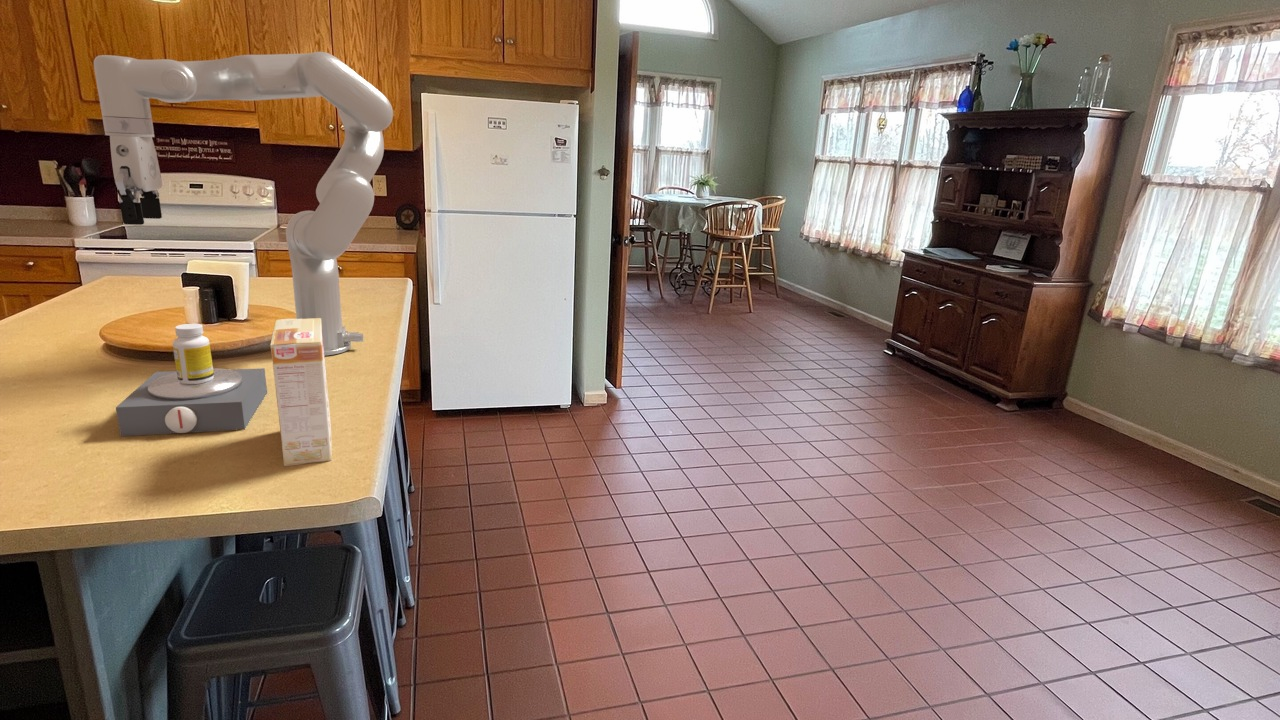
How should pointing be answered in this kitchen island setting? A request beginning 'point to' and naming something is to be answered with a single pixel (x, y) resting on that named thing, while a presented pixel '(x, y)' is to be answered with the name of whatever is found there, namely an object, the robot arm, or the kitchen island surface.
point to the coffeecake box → (301, 390)
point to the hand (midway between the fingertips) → (143, 221)
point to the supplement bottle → (192, 355)
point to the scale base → (192, 408)
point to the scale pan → (194, 386)
